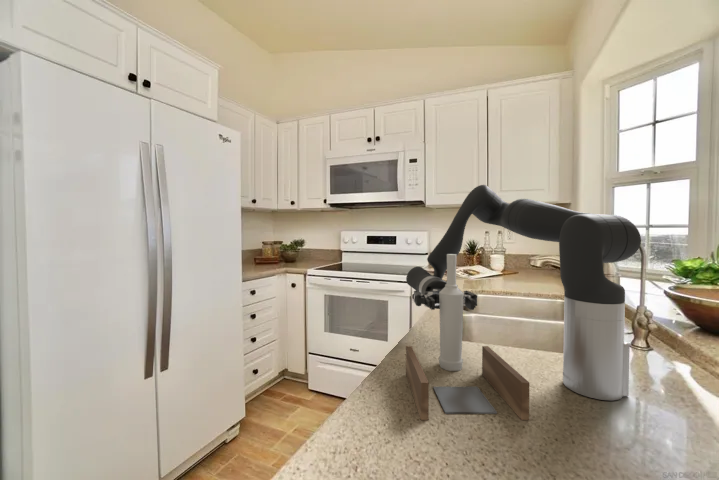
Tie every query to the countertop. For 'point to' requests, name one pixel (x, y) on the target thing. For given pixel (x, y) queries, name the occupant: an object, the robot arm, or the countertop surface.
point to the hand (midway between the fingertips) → (453, 305)
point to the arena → (471, 388)
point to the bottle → (451, 320)
